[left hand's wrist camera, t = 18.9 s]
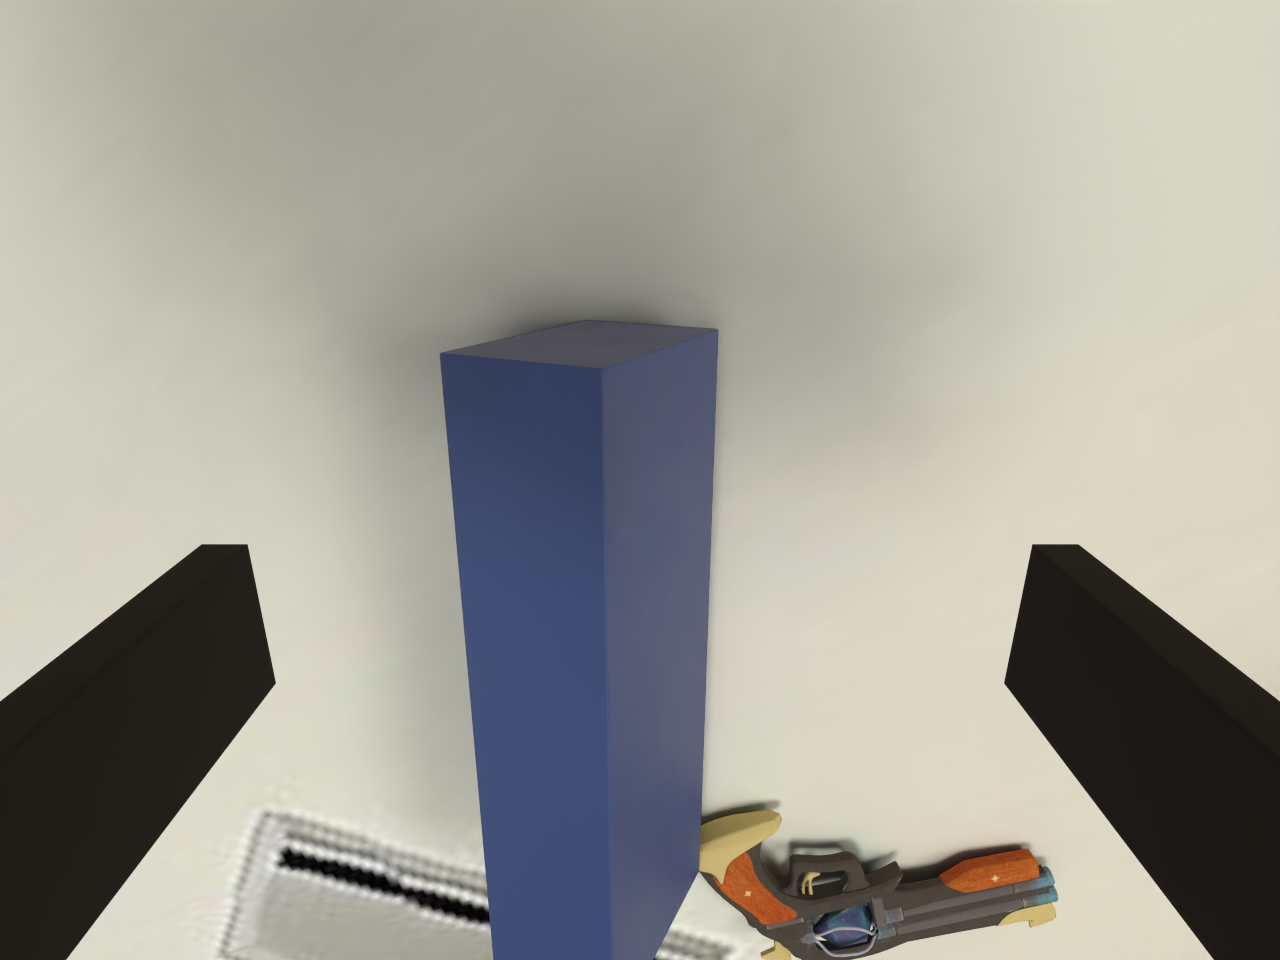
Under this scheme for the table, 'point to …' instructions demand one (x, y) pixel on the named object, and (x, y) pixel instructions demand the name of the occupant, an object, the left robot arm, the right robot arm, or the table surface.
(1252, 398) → the table surface
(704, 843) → the toy gun
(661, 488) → the bar
